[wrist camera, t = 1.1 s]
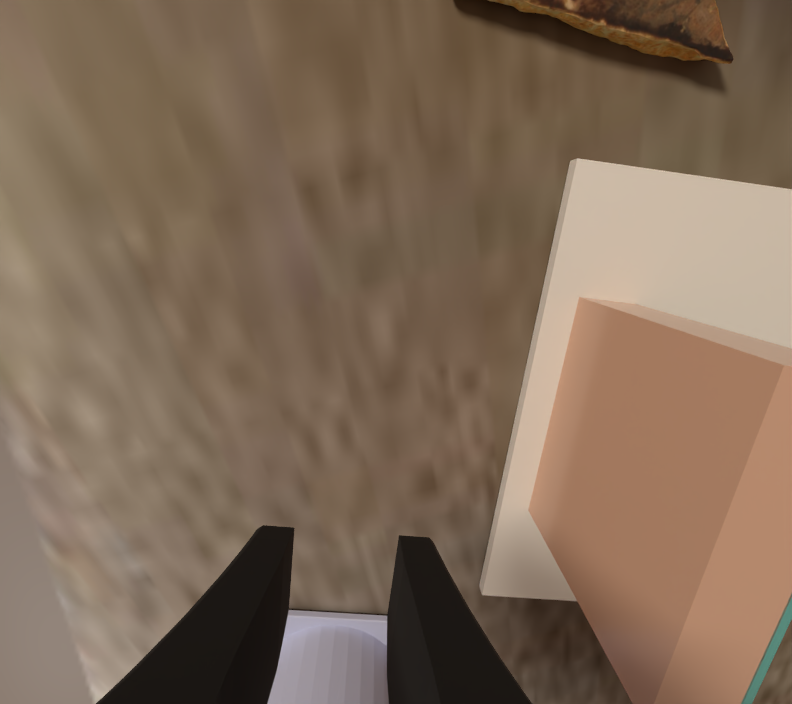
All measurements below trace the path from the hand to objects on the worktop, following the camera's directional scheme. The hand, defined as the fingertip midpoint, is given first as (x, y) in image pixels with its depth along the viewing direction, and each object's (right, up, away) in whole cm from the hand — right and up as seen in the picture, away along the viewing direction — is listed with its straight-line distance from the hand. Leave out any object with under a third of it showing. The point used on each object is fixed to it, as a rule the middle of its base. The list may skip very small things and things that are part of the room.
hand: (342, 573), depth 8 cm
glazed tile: (+9, +2, +10) cm, 14 cm away
